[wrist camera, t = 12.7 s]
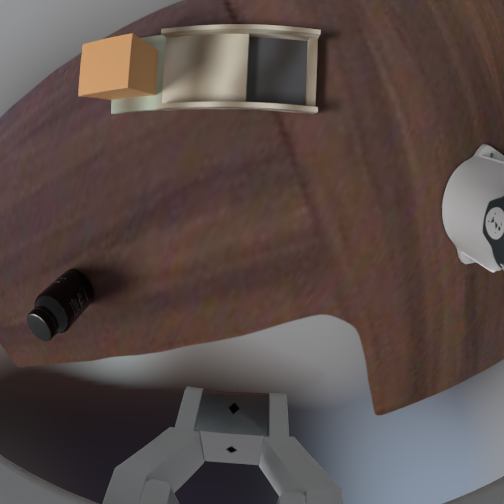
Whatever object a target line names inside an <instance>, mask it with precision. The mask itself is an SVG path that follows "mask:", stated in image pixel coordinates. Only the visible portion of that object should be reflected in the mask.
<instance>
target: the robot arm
mask: <svg viewBox="0 0 504 504" xmlns="http://www.w3.org/2000/svg"><path fill="white" fill-rule="evenodd" d="M490 154H491V157H490ZM442 217H443V223H444V227H445V230H446V233H447V235H448V236H449V238H450V239H451V241H452V242H453V243H454V244H455V246H456V248H457V252H458V256H459V259H460V261H461V262H463V263H465V264H470V263H474V262H477V263H478V264H480V265H481V266H483V267H484V268H486V269H487V270H489V271H491V272H495V271H500V270H502V269H503V270H504V155H502V154H501V153H500V152H498V151H497V150H495V149H494V148H492V147H491V146H489V145H487V144H482V145H481V146H480V147H479V148H478V150H477V151H476V153H475V154H474V156H473V157H471V158H470V159H468V160H467V161H465V162H463V163H462V164H461V165H460V166H459V167H458V168H457V169H456V170H455V171H454V173H453V174H452V176H451V177H450V179H449V181H448V184H447V186H446V189H445V193H444V197H443V204H442ZM204 461H213V462H227V463H238V464H251V465H259V466H260V468H261V470H262V471H263V473H264V474H265V476H266V477H267V479H268V480H269V482H270V483H271V485H272V486H273V487H274V489H275V491H276V492H277V494H278V495H279V496H280V497H279V500H278V502H277V504H343V498H342V491H341V488H340V487H339V486H338V485H337V484H336V483H335V481H334V480H333V479H332V478H331V477H330V476H329V475H328V474H327V473H326V472H325V471H324V470H323V469H322V468H321V467H320V466H319V464H317V462H316V461H315V460H314V459H313V458H312V457H311V456H310V455H309V453H308V452H307V451H306V450H305V449H304V448H303V447H302V446H301V444H300V443H299V442H298V441H297V440H296V439H295V438H294V437H289V426H288V409H287V396H286V395H285V394H272V393H271V394H270V393H269V394H268V393H250V392H228V391H219V390H211V389H202V388H194V387H187V388H186V390H185V393H184V396H183V400H182V403H181V407H180V410H179V414H178V418H177V421H176V425H175V428H172V427H170V428H169V429H167V430H166V431H164V432H163V433H162V434H161V435H159V436H158V437H157V438H155V439H154V440H153V441H151V442H150V443H149V444H148V445H146V446H145V447H143V448H142V449H141V450H139V451H138V452H137V453H135V454H134V455H133V456H131V457H130V458H129V459H127V460H126V461H124V462H123V463H122V464H120V465H119V466H117V467H116V468H115V470H114V472H113V475H112V478H111V481H110V484H109V486H108V489H107V492H106V495H105V498H104V501H103V504H179V502H178V500H177V499H176V496H175V495H174V493H175V492H176V491H177V489H179V488H180V487H181V486H182V484H184V483H185V482H186V481H187V480H188V479H189V478H190V477H191V476H192V475H193V474H194V472H195V471H196V470H197V469H198V468H199V467H200V466H201V465H202V464H203V463H204ZM0 504H98V503H95V502H93V501H89V500H87V499H85V498H82V497H80V496H77V495H75V494H72V493H70V492H68V491H66V490H63V489H61V488H59V487H57V486H55V485H53V484H50V483H48V482H46V481H44V480H42V479H40V478H39V477H37V476H35V475H33V474H30V473H29V472H27V471H25V470H24V469H22V468H20V467H18V466H17V465H15V464H13V463H12V462H10V461H8V460H7V459H5V458H4V457H2V456H0ZM443 504H504V476H503V477H501V478H500V479H498V480H496V481H494V482H492V483H490V484H488V485H486V486H484V487H482V488H480V489H477V490H475V491H473V492H471V493H468V494H466V495H464V496H461V497H459V498H456V499H454V500H451V501H449V502H446V503H443Z"/></svg>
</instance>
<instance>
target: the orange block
mask: <svg viewBox="0 0 504 504" xmlns="http://www.w3.org/2000/svg"><path fill="white" fill-rule="evenodd" d="M157 62H158V50H157V49H156V48H154V47H153V46H151V45H150V44H148V43H147V42H145V41H144V40H142V39H141V38H139V37H138V36H136V35H134V34H133V33H132V34H126V35H121V36H116V37H112V38H107V39H103V40H99V41H95V42H91V43H87V44H84V45H83V49H82V57H81V67H80V79H79V95H78V96H83V97H92V98H101V99H109V100H116V99H124V98H132V97H142V96H153V95H156V77H157Z"/></svg>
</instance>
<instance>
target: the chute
mask: <svg viewBox="0 0 504 504" xmlns="http://www.w3.org/2000/svg"><path fill="white" fill-rule="evenodd" d="M161 34H162V35H158V36H150V37H144V38H141V39H142V40H144V41H145V42H147V43H148V44H150V45H151V46H153V47H154V48H156V49H157V50H158V62H157V77H156V95H153V96H142V97H132V98H124V99H116V100H112V104H111V114H121V113H130V112H141V111H153V110H187V109H246V110H268V111H283V112H296V113H306V114H315V113H317V112H318V107H315V101H316V79H317V48H318V38H319V36H320V34H321V30H317V29H310V28H301V27H290V26H277V25H256V24H220V25H199V26H186V27H176V28H167V29H162V30H161Z"/></svg>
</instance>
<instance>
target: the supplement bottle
mask: <svg viewBox="0 0 504 504" xmlns="http://www.w3.org/2000/svg"><path fill="white" fill-rule="evenodd" d="M92 299H93V289H92V286H91V284H90V282H89V281H88V279H87V278H86V277H85V276H84V275H83V274H81V273H79V272H77V271H73V270H70V271H67V272H65V273H64V274H62V275H61V276H60V277H59V278H58V279H56V280H55V281H54V282H53V283H52V284H51V285H50V286H48V287H47V288H46V289H45V290H44V291H43V292H42V293H41V294H40V295H39V296H38V297H37V298H36V300H35V308H34V309H33V310H32V311H31V312H30V313H29V314H28V316H27V322H28V326H29V328H30V329H31V331H32V332H33V334H34V335H35V336H36V337H38V338H39V339H40V340H43V341H50V340H51V339H52V338H53V337H54V336H55V335H56V334H57V333H58V334H59V333H64V332H66V331H67V330H68V329H69V328H70V327H71V326H72V324H73V323H74V322H75V321H76V320H77V319H78V317H79V316H80V315H81V314H82V313H83V312H84V310H85V309H86V308H87V307H88V306H89V304H90V303H91V302H92Z"/></svg>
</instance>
